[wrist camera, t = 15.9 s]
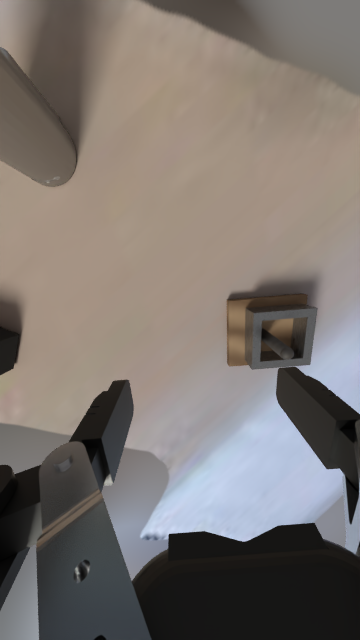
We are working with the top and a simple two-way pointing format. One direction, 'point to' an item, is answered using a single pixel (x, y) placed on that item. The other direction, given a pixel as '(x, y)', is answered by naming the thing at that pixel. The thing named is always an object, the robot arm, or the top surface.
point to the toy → (7, 349)
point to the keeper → (273, 331)
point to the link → (299, 343)
